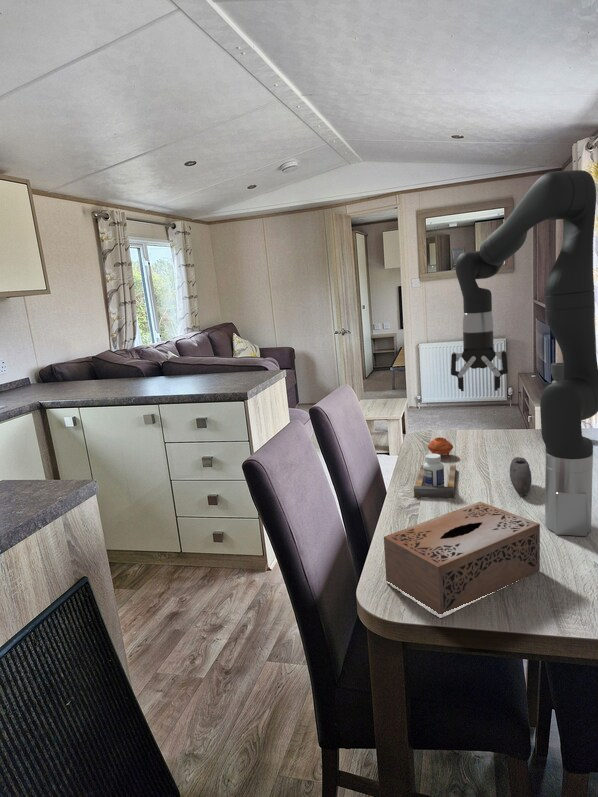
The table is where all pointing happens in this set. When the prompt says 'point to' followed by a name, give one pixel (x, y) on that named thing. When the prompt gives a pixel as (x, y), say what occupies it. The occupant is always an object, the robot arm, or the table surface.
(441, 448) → the pot
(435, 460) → the pill bottle
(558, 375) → the candle holder
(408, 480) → the table surface
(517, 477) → the perforated stone tool
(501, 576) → the tissue box cover
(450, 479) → the guide channel
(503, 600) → the table surface
